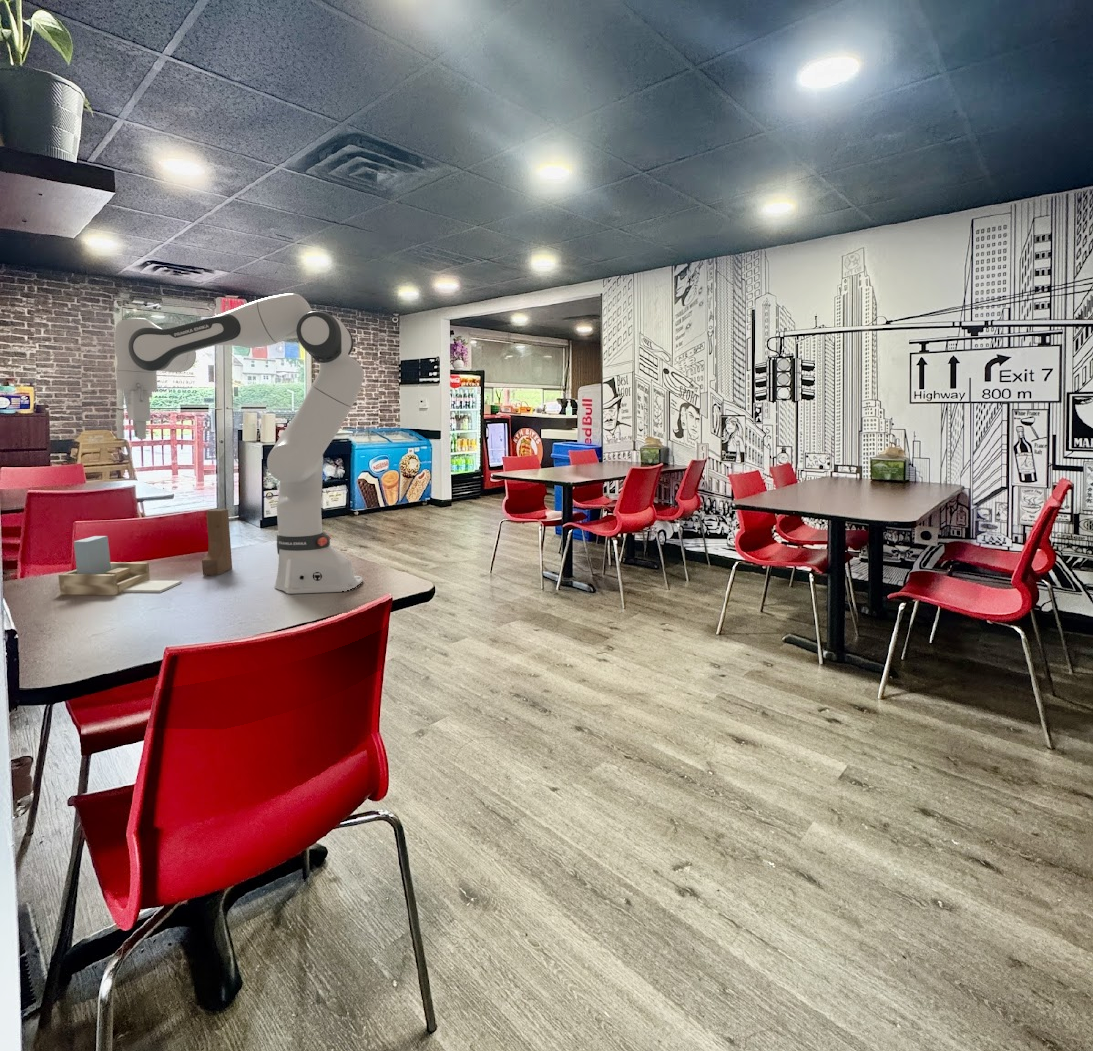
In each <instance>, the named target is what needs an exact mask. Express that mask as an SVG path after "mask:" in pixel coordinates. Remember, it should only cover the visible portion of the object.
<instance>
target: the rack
mask: <svg viewBox="0 0 1093 1051" xmlns="http://www.w3.org/2000/svg"><path fill="white" fill-rule="evenodd" d="M110 564H111V570H113V569H116V568H130V576H133V577H132V578H129V579H127V580H124V581H122V582H119V583H117V576H116V575H115V574H77V568H76V569H73V570H70V571H68V572H64V573H60V574H58V576H57V577H58V583H59V590H60V591H59V593H60V595H91V596H92V595H93V596H94V595H97V596H100V595H101V596H104V595H107V596H111V595H112V596H116V595H118V594H122V593H124V592H123V590H124V589H126V588H129V587H131V586H134V585H136V584H139V583H141V582H143V581H146V580H151V575H150V565H149V564H150V563H149V562H133V561H131V562H126V561H123V562H122V561H119V562H115V561H110Z"/></svg>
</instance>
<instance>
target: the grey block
mask: <svg viewBox="0 0 1093 1051" xmlns="http://www.w3.org/2000/svg"><path fill="white" fill-rule="evenodd" d="M109 544H110V543H109V537H108V535H94V536H93V535H92V536H90V537H85V538H82V539H79V540H74V541H73V548H74V556H75V557H74V558H75V566H76V567H75V568H76V569H77V574H105V572H108V571H111V564H110V562H111V555H110V546H109Z"/></svg>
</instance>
